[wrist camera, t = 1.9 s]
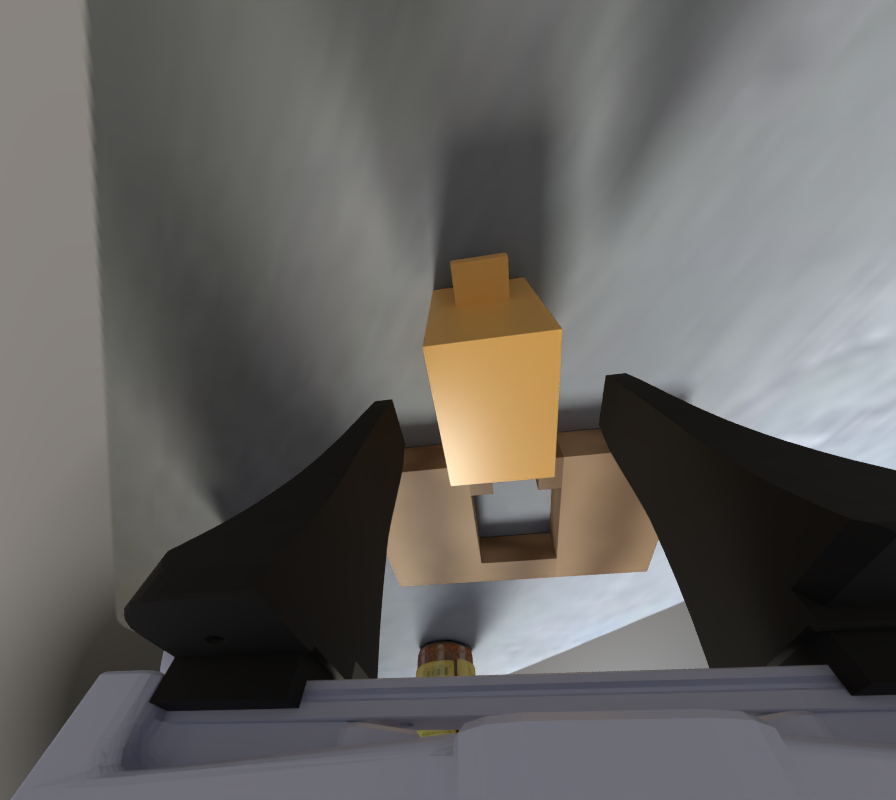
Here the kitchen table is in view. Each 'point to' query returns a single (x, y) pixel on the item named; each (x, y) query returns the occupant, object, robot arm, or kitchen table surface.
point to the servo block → (493, 374)
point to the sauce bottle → (444, 668)
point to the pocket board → (519, 556)
